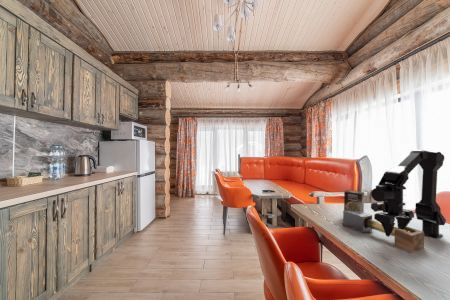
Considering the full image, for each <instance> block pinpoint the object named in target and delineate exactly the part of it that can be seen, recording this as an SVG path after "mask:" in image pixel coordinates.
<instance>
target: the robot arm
mask: <svg viewBox="0 0 450 300" xmlns="http://www.w3.org/2000/svg"><path fill="white" fill-rule="evenodd" d="M444 161H445V155H444V154H443V153H442V152H441V151H427V150H424V149H413V150H411V151H410V152H409V155H407V156H406V157H405V158H404V159H403V160H401V162H400V163H399V164H398V165H397V166H395V167H391V168H389V169H387V170H386V171H384V173H383V175H382V177H381V179H380V180H379V182H378V184H377V185H375V188H373V189H372V190H371V192H370V194H371V195H370V196H371V198H372V199H373V200H374V201H375V202H371V204H370V210H372V211H373V212H375V214H374V218H373V220H374V221H377V222H380V223H381V224H382V226H383V229H384V231H385V233H384V234H385V236H386V237H388V238H389V237H390V236H391V235H390V234H391V232H392V230H393V227H395V225H396V222H397V228H399V229H402V230H404V227H408V225H409V224H410V222H411V221H413V218H415V216H416V219H417V220H418V221H419V220H420V221H422V223H421V225H422V226H421V227H422V229H421V231H423V232H424V236H428V237H431V238H434V239H438V238H441V237H443V236H444V234H442V233H440V226H445V225H446V222H447V219H446V217H444V216H443V214H442V211H441V206H440V205H439V204H438V202H437V189H438V188H437V186H438V185H437V184H438V171H439V169H441V168H442V167H443V165H444ZM418 165H419V167H420V168H421V169H422V178H421V179H422V182H421V183H422V184H421V199H420V200H419V202H415V209H414V212H413V211H412V210H409V209H405V208H404V206H406V202H404V190H406V189H407V187H406V186H405V184H406V183H407V181H408V180H409V174H410V173H411V172H412V171H413V170H414V169H415V168H416V167H417V166H418ZM380 202H383V203H380ZM376 212H377V213H376ZM395 220H396V222H395Z"/></svg>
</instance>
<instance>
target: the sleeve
mask: <svg viewBox="0 0 450 300" xmlns="http://www.w3.org/2000/svg"><path fill="white" fill-rule="evenodd" d="M342 213H343V214H342V215H343V216H342V217H343V219H342V220H343V221H342V222H343V223H342V225H343V226H344V227H346V228H349V229H352V230H354V231H357V232H360V233H363V234H365V233H369V232H372V231H373V229H371V228H369V227H366V226H365V219H366V218H367V219H370V220H373V214H369V213H366V212H364V213H363V212H359V211H356V210H353V209H350V210H345V211H344V210H343V211H342Z"/></svg>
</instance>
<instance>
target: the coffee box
mask: <svg viewBox="0 0 450 300" xmlns="http://www.w3.org/2000/svg"><path fill="white" fill-rule="evenodd" d="M343 192H344V194H343V198H344V199H343V204H344V205H343V211H345V210H350V209H353V210H356V211H359V212H363V213H365V212H364V211H365V192H364V191H357V190H351V189H350V190H348V189H347V190H344V191H343Z"/></svg>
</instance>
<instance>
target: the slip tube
mask: <svg viewBox="0 0 450 300" xmlns="http://www.w3.org/2000/svg"><path fill="white" fill-rule="evenodd" d="M365 226H366V227H369V228H371V229H372V230H374V231H377V232H381V233H384V234H385V231H384V229H383V226H382V224H381V223H380V222H379V221H377V220H375V219H372V220H370V219H367V218H366V219H365ZM397 229H398V230H401V231H404V232H407V233H412V232H410V231H406V230H402V229H399V228H398V227H396V226H394V227H393V230H392V232H391V234H390V236H392V237H394V238H395V230H397Z"/></svg>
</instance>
